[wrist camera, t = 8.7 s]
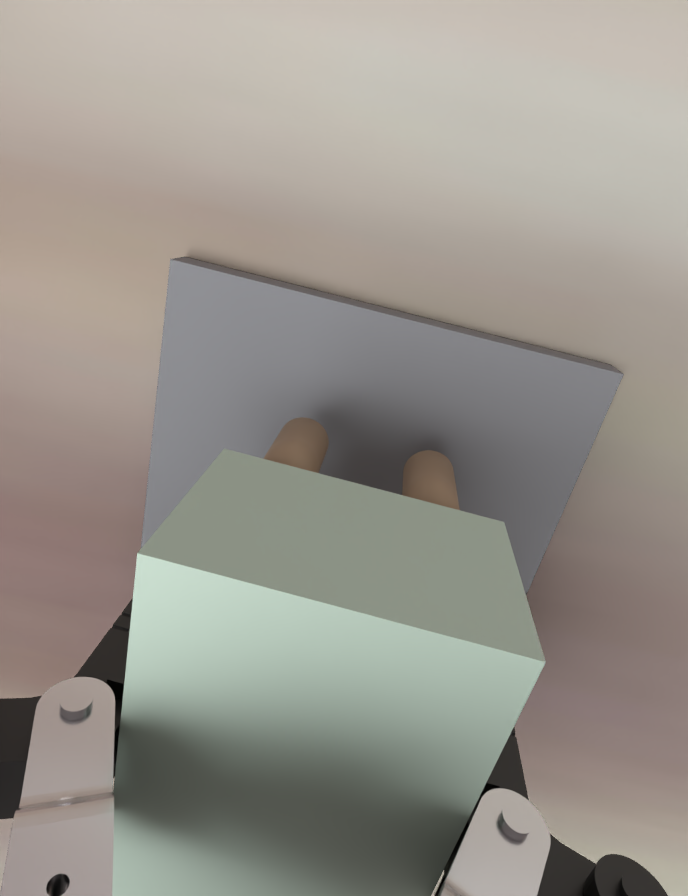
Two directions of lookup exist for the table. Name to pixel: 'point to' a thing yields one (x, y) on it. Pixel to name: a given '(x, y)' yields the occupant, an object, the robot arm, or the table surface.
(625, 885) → the robot arm
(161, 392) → the mat
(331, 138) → the table surface
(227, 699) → the mint green toy brick
